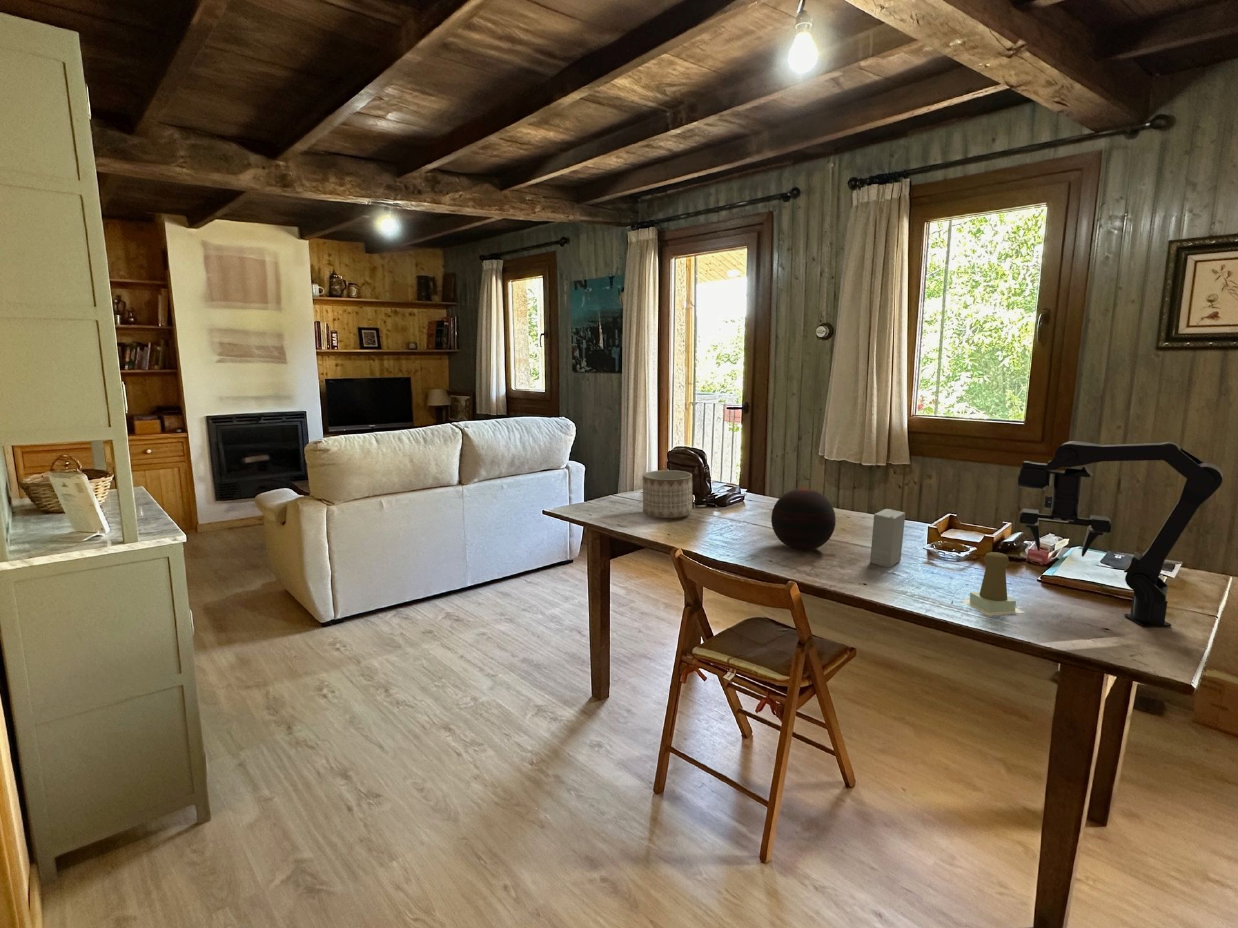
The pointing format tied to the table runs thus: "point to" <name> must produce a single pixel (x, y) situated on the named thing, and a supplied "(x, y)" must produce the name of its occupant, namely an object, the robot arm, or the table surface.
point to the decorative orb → (803, 519)
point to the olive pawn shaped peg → (995, 577)
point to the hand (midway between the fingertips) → (1060, 553)
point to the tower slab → (991, 612)
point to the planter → (667, 494)
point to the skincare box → (887, 537)
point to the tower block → (992, 603)
